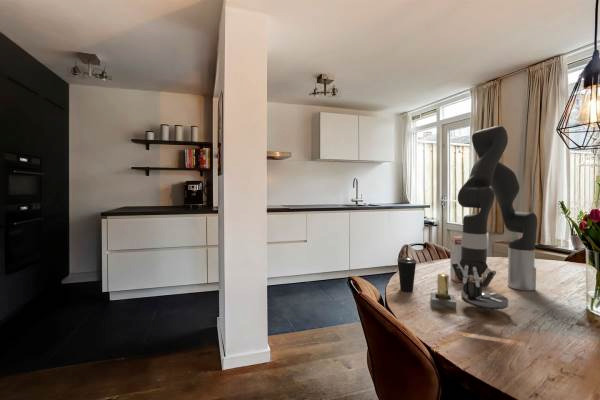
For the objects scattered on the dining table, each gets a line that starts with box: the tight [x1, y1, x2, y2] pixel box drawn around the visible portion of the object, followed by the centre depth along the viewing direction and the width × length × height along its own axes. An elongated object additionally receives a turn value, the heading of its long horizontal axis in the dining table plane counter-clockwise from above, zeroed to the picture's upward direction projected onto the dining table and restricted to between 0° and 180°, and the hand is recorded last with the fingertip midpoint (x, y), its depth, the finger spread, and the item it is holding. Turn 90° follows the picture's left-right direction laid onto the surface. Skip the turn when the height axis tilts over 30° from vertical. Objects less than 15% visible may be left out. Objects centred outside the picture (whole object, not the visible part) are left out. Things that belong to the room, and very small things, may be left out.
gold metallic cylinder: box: [437, 273, 450, 300], centre depth 109 cm, size 4×4×11 cm
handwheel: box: [460, 281, 509, 310], centre depth 104 cm, size 14×14×8 cm
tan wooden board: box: [430, 291, 511, 323], centre depth 106 cm, size 23×15×4 cm, turn 68°
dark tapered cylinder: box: [397, 244, 418, 293], centre depth 125 cm, size 8×8×20 cm
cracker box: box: [449, 235, 487, 283], centre depth 140 cm, size 14×6×21 cm, turn 84°
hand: (472, 295), depth 102 cm, fingers closed on handwheel, 2 cm apart
